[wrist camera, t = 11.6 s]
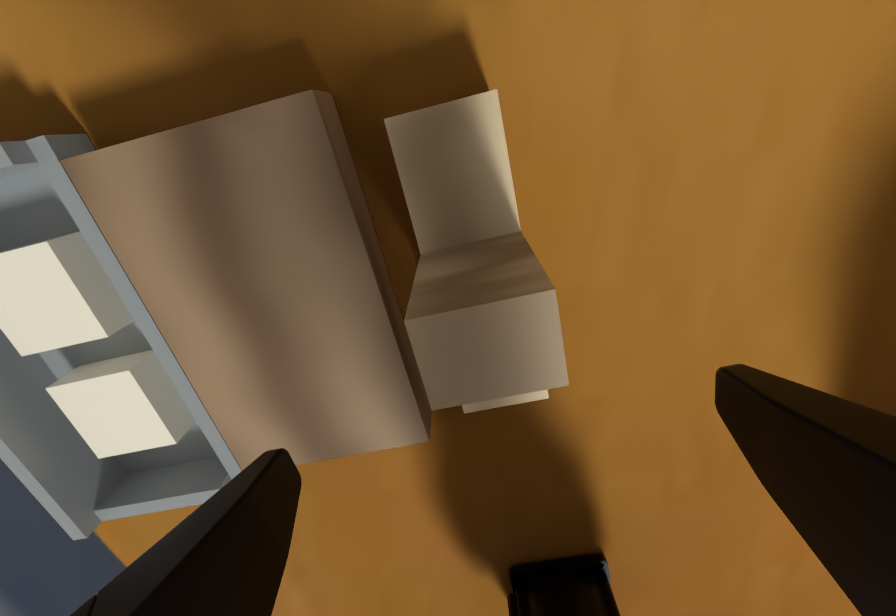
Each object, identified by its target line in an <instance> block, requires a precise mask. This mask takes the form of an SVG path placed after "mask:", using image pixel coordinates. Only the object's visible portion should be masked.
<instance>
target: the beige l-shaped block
mask: <svg viewBox="0 0 896 616" xmlns="http://www.w3.org/2000/svg"><path fill="white" fill-rule="evenodd" d="M384 122H385V126H386V130H387V133H388V137H389V141H390V144H391V148H392V152H393V155H394V159H395V163H396V166H397V170H398V174H399V177H400V181H401V185H402V188H403V192H404V196H405V199H406V203H407V207H408V210H409V214H410V218H411V221H412V225H413V228H414V232H415V236H416V239H417V243H418V247H419V250H420V258H419V262H418V266H417V270H416V274H415V278H414V282H413V286H412V290H411V294H410V298H409V302H408V306H407V310H406V314H405V318H404V323H405V326H406V329H407V333H408V336H409V339H410V342H411V346H412V349H413V352H414V355H415V358H416V362H417V365H418V368H419V371H420V374H421V378H422V381H423V384H424V387H425V390H426V394H427V397H428V400H429V403H430V407H431V410H432V411H433V410H438V409H444V408H449V407H455V406H460V405H462V408H463V411H464V414H465V413H470V412H476V411H481V410H487V409H492V408H498V407H503V406H509V405H514V404H520V403H525V402H531V401H536V400H542V399H547V398H549V396H548V390H547V389H552V388H558V387H563V386H569V382H568V375H567V368H566V360H565V353H564V346H563V339H562V332H561V325H560V318H559V311H558V304H557V297H556V290H555V288H554V286H553V284H552V283H551V281H550V279H549V278H548V276H547V274H546V273H545V271H544V269H543V268H542V266H541V264H540V263H539V261H538V259H537V258H536V256H535V254H534V253H533V251H532V249H531V248H530V246H529V244H528V242H527V241H526V239H525V237H524V236H523V234H522V232H521V229H520V223H519V217H518V211H517V205H516V199H515V193H514V187H513V181H512V175H511V169H510V163H509V158H508V152H507V146H506V140H505V134H504V128H503V122H502V116H501V110H500V104H499V98H498V92H497V89H495V90H491V91H487V92H484V93H480V94H476V95H472V96H469V97H465V98H461V99H457V100H454V101H450V102H446V103H442V104H438V105H435V106H431V107H427V108H423V109H420V110H416V111H412V112H408V113H404V114H401V115H397V116H393V117H389V118H386V119H384Z"/></svg>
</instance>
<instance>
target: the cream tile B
mask: <svg viewBox="0 0 896 616" xmlns="http://www.w3.org/2000/svg"><path fill="white" fill-rule="evenodd" d="M45 389H46V391H47V392H48V393H49V394H50V396H51V397H52V398H53V400H54V401H55V402H56V404H57V405H58V406H59V408H60V409H61V410H62V411H63V413H64V414H65V415H66V417H67V418H68V419H69V421H70V422H71V423H72V425H73V426H74V427H75V428H76V430H77V431H78V432H79V434H80V435H81V436H82V438H83V439H84V440H85V442H86V443H87V444H88V445H89V447H90V448H91V449H92V451H93V452H94V453H95V455H96V456H97V457H98V459H100V458H105V457H110V456H115V455H121V454H126V453H131V452H136V451H141V450H147V449H152V448H157V447H162V446H168V445H173V444H177V443H178V442H179V441H180V439H181V438H182V437H183V436H184V435H185V433H186V432H187V431H188V430H189V429H190V428H191V426H192V425H193V424H194V423H195V422H196V420H195V418H194V417H193V415H192V414H191V412H190V410H189V409H188V407H187V405H186V404H185V402H184V400H183V399H182V397H181V395H180V394H179V392H178V391H177V389H176V387H175V386H174V384H173V382H172V381H171V379H170V377H169V376H168V374H167V373H166V371H165V369H164V368H163V366H162V364H161V363H160V361H159V359H158V358H157V356H156V354H155V353H154V351H153V350H149V351H145V352H140V353H136V354H131V355H127V356H122V357H118V358H113V359H108V360H104V361H99V362H95V363H90V364H86V365H81V366H78V367H77V368H75V369H74V370H72V371H71V372H69V373H68V374H66V375H65V376H63V377H62V378H60V379H59V380H57V381H56V382H54V383H53V384H51V385H50V386H48V387H47V388H45Z"/></svg>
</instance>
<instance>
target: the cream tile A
mask: <svg viewBox="0 0 896 616" xmlns="http://www.w3.org/2000/svg"><path fill="white" fill-rule="evenodd" d="M133 321H135V320H134V318H133V317H132V315H131V313H130V312H129V310H128V309H127V307H126V305H125V304H124V302H123V300H122V299H121V297H120V295H119V294H118V292H117V290H116V289H115V287H114V286H113V284H112V282H111V281H110V279H109V277H108V276H107V274H106V272H105V271H104V269H103V268H102V266H101V264H100V263H99V261H98V259H97V258H96V256H95V254H94V253H93V251H92V249H91V248H90V246H89V245H88V243H87V241H86V240H85V238H84V236H83V235H82V233H81V231H78V232H74V233H70V234H67V235H63V236H59V237H55V238H51V239H47V240H43V241H39V242H36V243H32V244H28V245H24V246H20V247H16V248H12V249H8V250H5V251H1V252H0V329H1V330H2V331H3V333H4V334H5V335H6V337H7V338H8V339H9V341H10V342H11V343H12V344H13V346H14V347H15V348H16V350H17V351H18V352H19V354H20V355H21V356H26V355H31V354H35V353H39V352H44V351H48V350H53V349H57V348H62V347H66V346H71V345H75V344H80V343H84V342H88V341H93V340H97V339H102V338H106V337H109V336H111V335H112V334H114V333H116V332H117V331H119V330H120V329H122V328H123V327H125V326H127V325H128V324H130V323H131V322H133Z"/></svg>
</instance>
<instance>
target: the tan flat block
mask: <svg viewBox="0 0 896 616" xmlns="http://www.w3.org/2000/svg"><path fill="white" fill-rule="evenodd" d="M60 162H61V163H62V165H63V167H64V168H65V170H66V172H67V174H68V175H69V177H70V179H71V180H72V182H73V184H74V185H75V187H76V189H77V191H78V192H79V194H80V196H81V197H82V199H83V201H84V202H85V204H86V206H87V208H88V209H89V211H90V213H91V214H92V216H93V218H94V219H95V221H96V223H97V225H98V226H99V228H100V230H101V231H102V233H103V235H104V236H105V238H106V240H107V242H108V243H109V245H110V247H111V248H112V250H113V252H114V253H115V255H116V257H117V258H118V260H119V262H120V264H121V265H122V267H123V269H124V270H125V272H126V274H127V275H128V277H129V279H130V281H131V282H132V284H133V286H134V287H135V289H136V291H137V292H138V294H139V296H140V298H141V299H142V301H143V303H144V304H145V306H146V308H147V309H148V311H149V313H150V315H151V316H152V318H153V320H154V321H155V323H156V325H157V326H158V328H159V330H160V332H161V333H162V335H163V337H164V338H165V340H166V342H167V343H168V345H169V347H170V349H171V350H172V352H173V354H174V355H175V357H176V359H177V360H178V362H179V364H180V366H181V367H182V369H183V371H184V372H185V374H186V376H187V377H188V379H189V381H190V383H191V384H192V386H193V388H194V389H195V391H196V393H197V394H198V396H199V398H200V399H201V401H202V403H203V405H204V406H205V408H206V410H207V411H208V413H209V415H210V416H211V418H212V420H213V422H214V423H215V425H216V427H217V428H218V430H219V432H220V433H221V435H222V437H223V439H224V440H225V442H226V444H227V445H228V447H229V449H230V450H231V452H232V454H233V456H234V457H235V459H236V461H237V462H238V464H239V466H240V467H241V469H242V470H244V469H245V468H246V467H247V466H248V465H250V464H251V463H252V462H253V461H254V460H255V459H257V458H258V457H259V456H260V455H261V454H263V453H264V452H266V451H268V450H273V449H279V448H284V449H286V450H287V451H288V452H289V454H290V456H291V458H292V460H293V462H294V464H295V465H300V464H306V463H311V462H317V461H323V460H328V459H334V458H339V457H345V456H351V455H356V454H362V453H367V452H373V451H378V450H384V449H390V448H395V447H401V446H406V445H412V444H417V443H423V442H429V439H430V426H431V413H432V410H431V407H430V403H429V400H428V397H427V394H426V390H425V387H424V384H423V381H422V378H421V374H420V371H419V368H418V365H417V362H416V358H415V355H414V352H413V349H412V346H411V342H410V339H409V336H408V333H407V330H406V326H405V323H404V320H403V317H402V314H401V311H400V308H399V304H398V301H397V298H396V295H395V292H394V289H393V285H392V282H391V279H390V276H389V273H388V270H387V266H386V263H385V260H384V257H383V254H382V251H381V247H380V244H379V241H378V238H377V235H376V232H375V228H374V225H373V222H372V219H371V216H370V213H369V210H368V206H367V203H366V200H365V197H364V194H363V191H362V187H361V184H360V181H359V178H358V175H357V172H356V168H355V165H354V162H353V159H352V156H351V153H350V149H349V146H348V143H347V140H346V137H345V134H344V130H343V127H342V124H341V121H340V118H339V115H338V111H337V108H336V105H335V102H334V99H333V96H332V93H328V92H324V91H319V90H314V89H311V90H307V91H304V92H300V93H297V94H293V95H290V96H286V97H283V98H279V99H275V100H272V101H268V102H265V103H261V104H258V105H254V106H251V107H247V108H244V109H240V110H237V111H233V112H230V113H226V114H222V115H219V116H215V117H212V118H208V119H205V120H201V121H198V122H194V123H191V124H187V125H184V126H180V127H177V128H173V129H169V130H166V131H162V132H159V133H155V134H152V135H148V136H145V137H141V138H138V139H134V140H131V141H127V142H124V143H120V144H117V145H113V146H109V147H106V148H102V149H99V150H95V151H92V152H88V153H85V154H81V155H78V156H74V157H71V158H67V159H64V160H60Z"/></svg>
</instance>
